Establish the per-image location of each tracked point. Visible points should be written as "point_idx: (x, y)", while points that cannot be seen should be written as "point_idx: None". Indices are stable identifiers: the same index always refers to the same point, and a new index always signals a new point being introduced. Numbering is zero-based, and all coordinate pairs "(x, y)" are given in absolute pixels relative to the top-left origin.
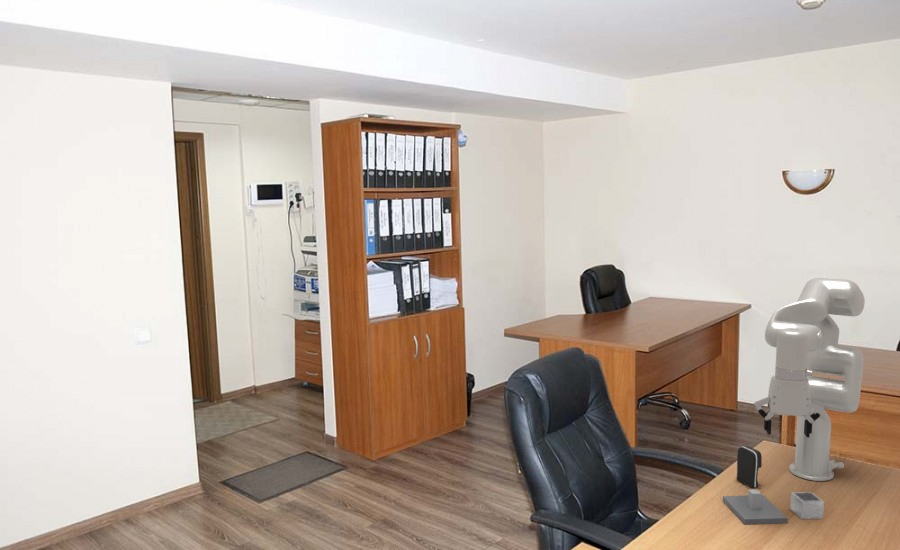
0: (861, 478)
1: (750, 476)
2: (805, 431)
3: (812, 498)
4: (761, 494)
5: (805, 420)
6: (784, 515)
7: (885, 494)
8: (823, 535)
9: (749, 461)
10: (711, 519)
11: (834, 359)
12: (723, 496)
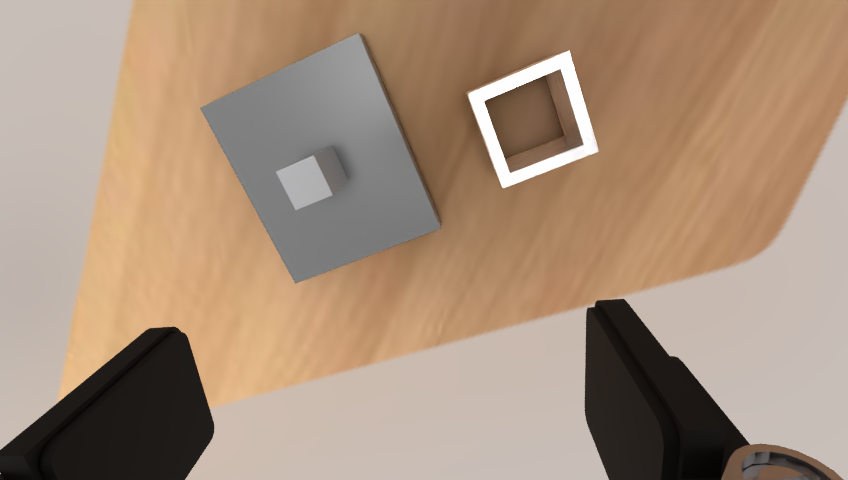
0: None
1: None
2: (600, 403)
3: (561, 84)
4: (333, 193)
5: (675, 449)
6: (430, 212)
7: None
8: (547, 274)
9: None
10: (198, 271)
11: None
12: (203, 110)
